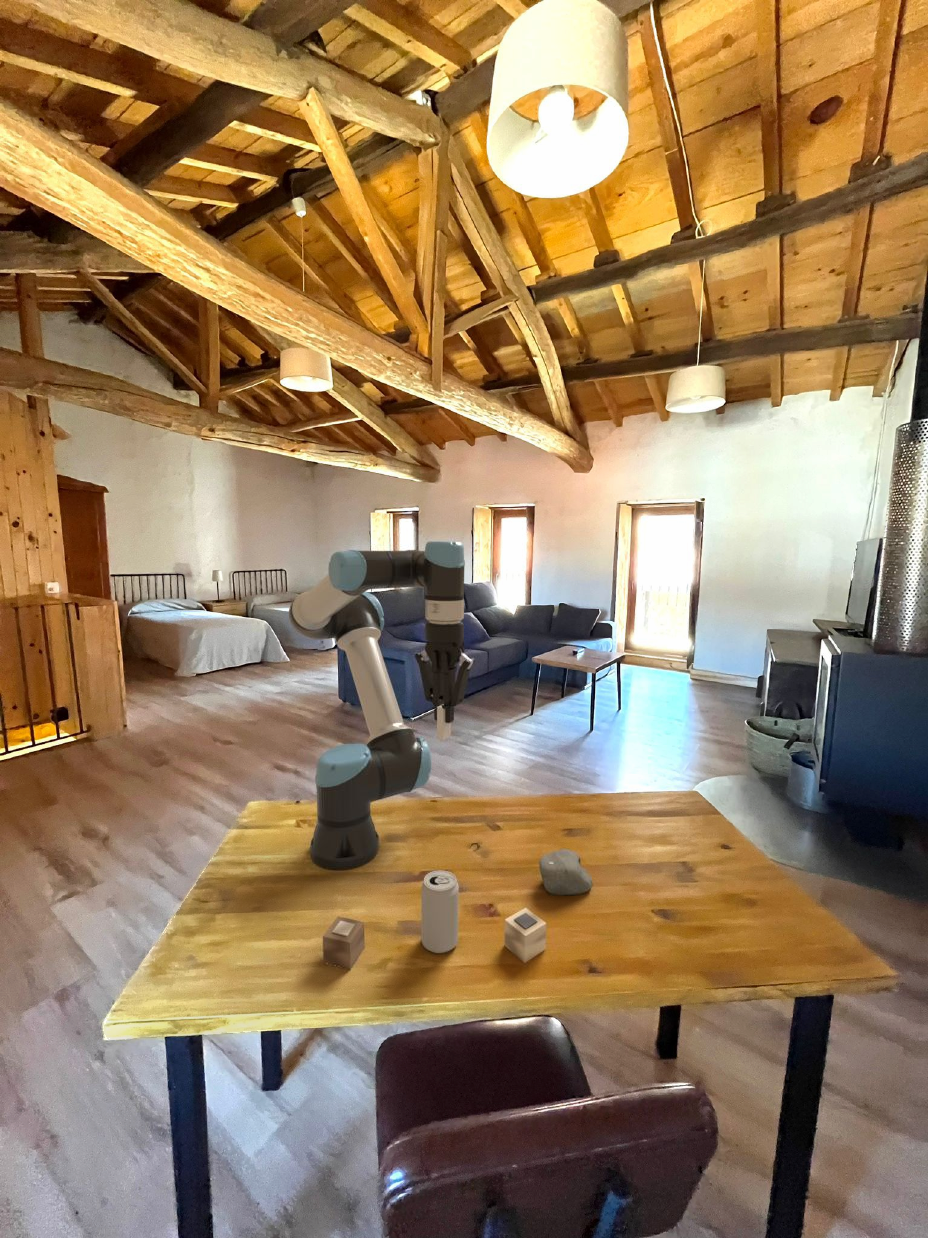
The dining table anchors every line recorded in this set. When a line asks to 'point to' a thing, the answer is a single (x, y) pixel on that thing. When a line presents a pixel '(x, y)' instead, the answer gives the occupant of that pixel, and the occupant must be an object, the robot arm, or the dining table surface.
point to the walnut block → (343, 942)
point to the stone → (564, 873)
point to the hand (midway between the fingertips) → (443, 737)
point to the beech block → (525, 934)
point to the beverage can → (440, 911)
